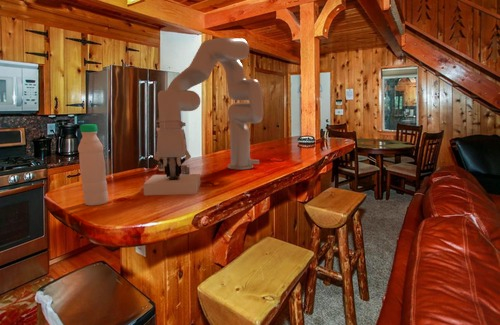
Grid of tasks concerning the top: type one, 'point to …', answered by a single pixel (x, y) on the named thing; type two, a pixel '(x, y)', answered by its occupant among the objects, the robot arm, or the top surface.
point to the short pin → (185, 169)
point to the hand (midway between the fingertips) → (173, 175)
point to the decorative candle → (160, 165)
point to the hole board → (172, 185)
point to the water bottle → (92, 166)
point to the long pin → (172, 168)
